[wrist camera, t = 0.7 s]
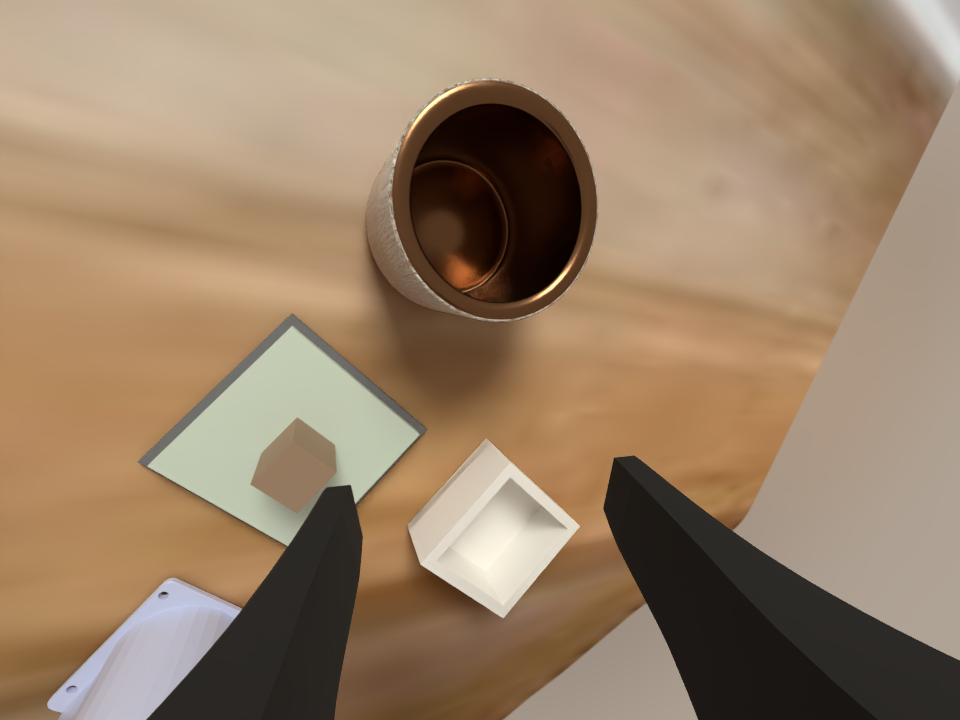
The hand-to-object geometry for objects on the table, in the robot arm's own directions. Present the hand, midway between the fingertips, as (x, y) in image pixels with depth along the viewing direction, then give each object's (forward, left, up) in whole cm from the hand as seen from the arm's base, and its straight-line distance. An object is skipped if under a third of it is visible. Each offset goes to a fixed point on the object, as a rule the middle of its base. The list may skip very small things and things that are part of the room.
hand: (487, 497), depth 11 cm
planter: (+9, +4, -18) cm, 21 cm away
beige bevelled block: (-4, -14, -18) cm, 23 cm away
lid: (-8, +1, -17) cm, 19 cm away
